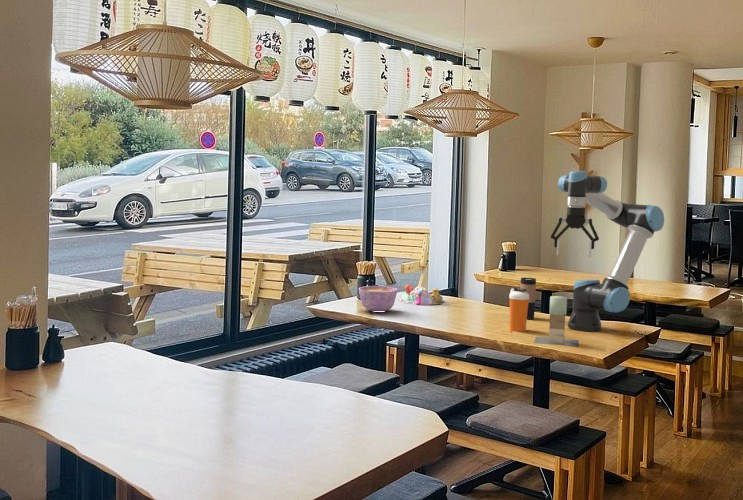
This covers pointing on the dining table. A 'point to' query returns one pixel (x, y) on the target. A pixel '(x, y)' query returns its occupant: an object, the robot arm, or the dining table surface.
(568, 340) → the slate board
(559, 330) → the block bottom
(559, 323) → the block top
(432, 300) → the colourful toy figurine cluster
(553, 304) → the pale green cube
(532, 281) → the travel mug
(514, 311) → the shaker bottle
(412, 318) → the dining table surface
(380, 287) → the bowl of food
